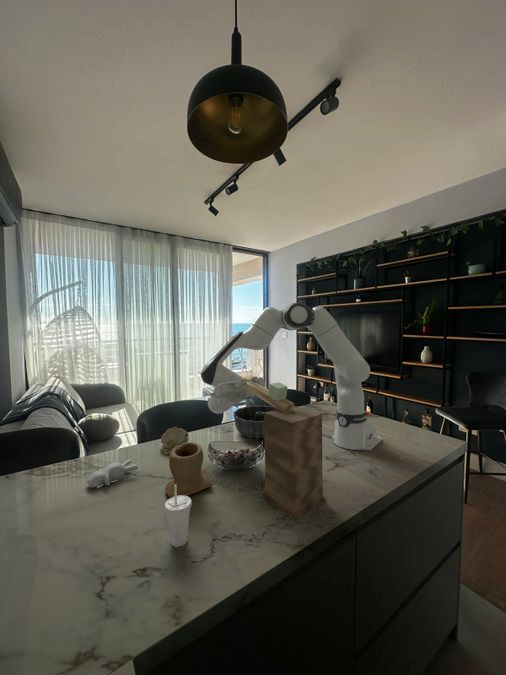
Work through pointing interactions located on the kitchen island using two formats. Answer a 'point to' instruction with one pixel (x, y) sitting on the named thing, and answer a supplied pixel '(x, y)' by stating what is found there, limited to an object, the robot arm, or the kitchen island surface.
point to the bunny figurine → (110, 473)
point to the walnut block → (293, 460)
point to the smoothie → (178, 517)
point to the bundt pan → (251, 420)
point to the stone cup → (187, 470)
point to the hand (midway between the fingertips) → (250, 379)
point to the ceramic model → (173, 439)
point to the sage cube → (277, 391)
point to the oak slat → (263, 392)
